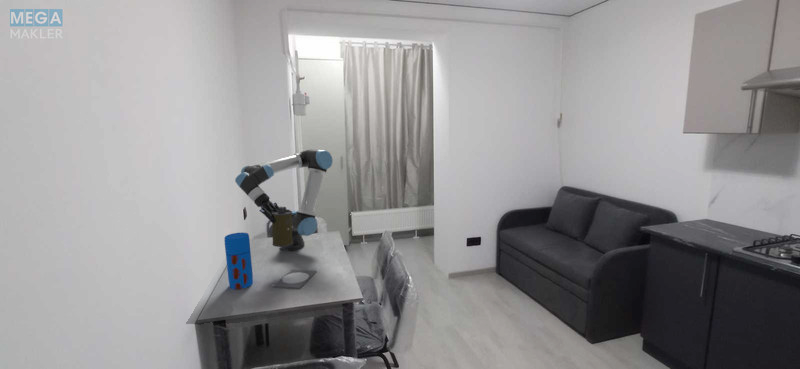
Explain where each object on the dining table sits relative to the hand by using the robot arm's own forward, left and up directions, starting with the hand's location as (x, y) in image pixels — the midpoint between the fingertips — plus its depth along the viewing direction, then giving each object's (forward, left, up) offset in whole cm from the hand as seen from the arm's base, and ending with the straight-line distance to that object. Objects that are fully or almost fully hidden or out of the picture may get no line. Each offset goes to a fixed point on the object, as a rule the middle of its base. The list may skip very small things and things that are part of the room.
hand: (289, 229), depth 186 cm
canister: (0, -4, -8) cm, 9 cm away
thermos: (+20, -17, -23) cm, 35 cm away
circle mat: (+11, +7, -23) cm, 26 cm away
